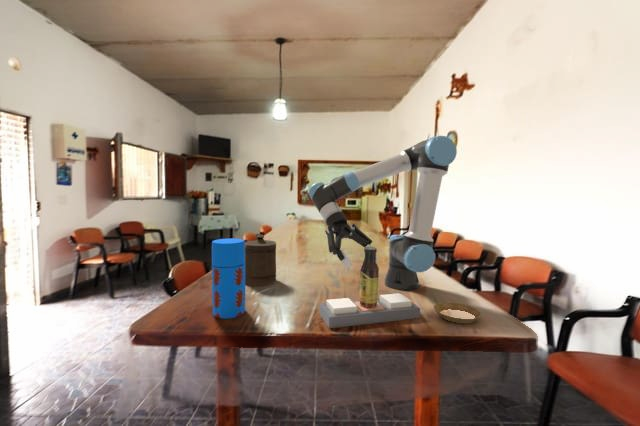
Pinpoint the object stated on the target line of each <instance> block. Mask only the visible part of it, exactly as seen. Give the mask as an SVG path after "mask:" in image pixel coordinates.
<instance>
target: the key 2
mask: <svg viewBox="0 0 640 426" xmlns="http://www.w3.org/2000/svg"><path fill="white" fill-rule="evenodd" d="M379 298H380V302H382V303H383V304H384V305H386V306H387V307H388V308H389V309H394V308H404V307H412V303H413V301H412V300H411V299H409V298H407V296H405V295H403V294H401V293H390V294H379Z"/></svg>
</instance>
